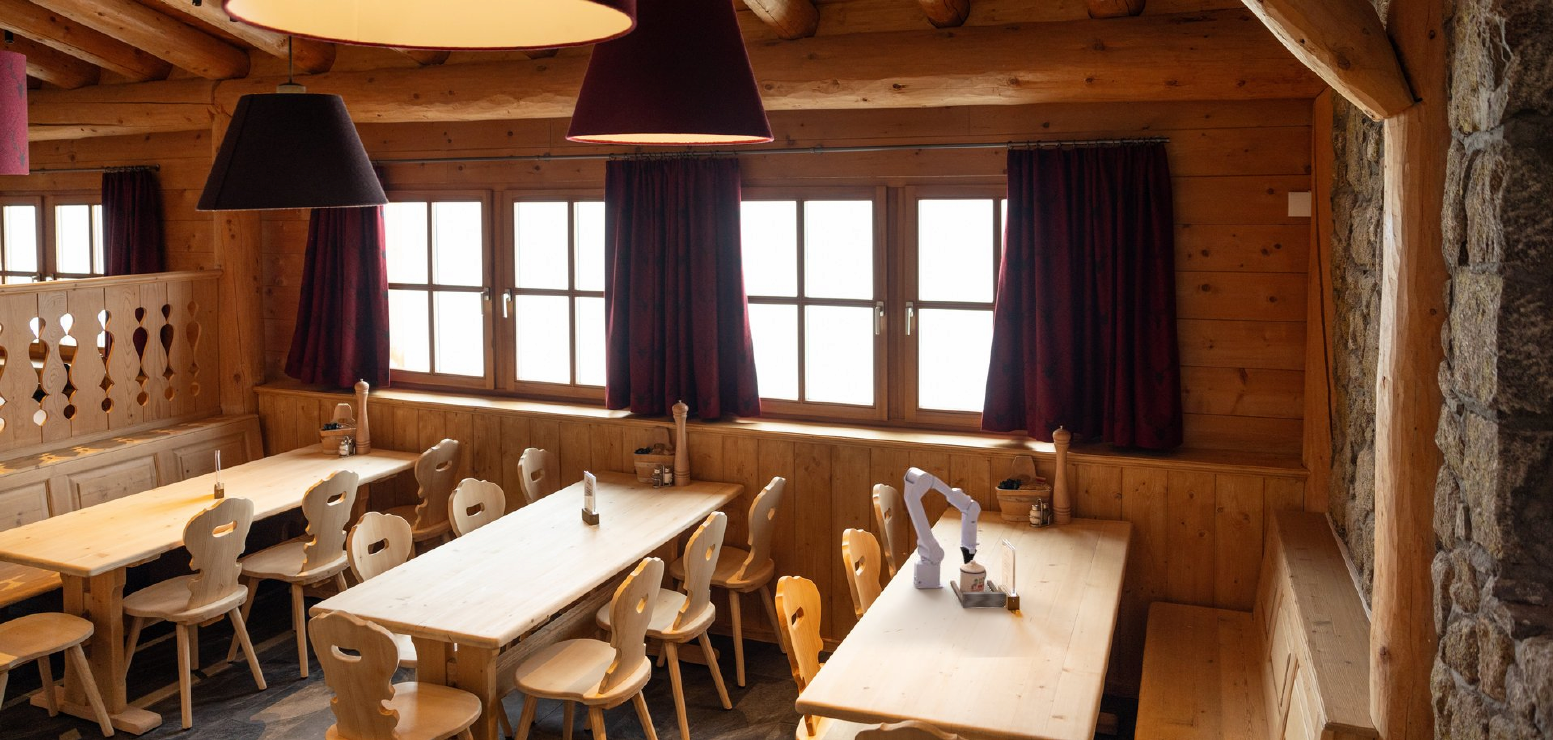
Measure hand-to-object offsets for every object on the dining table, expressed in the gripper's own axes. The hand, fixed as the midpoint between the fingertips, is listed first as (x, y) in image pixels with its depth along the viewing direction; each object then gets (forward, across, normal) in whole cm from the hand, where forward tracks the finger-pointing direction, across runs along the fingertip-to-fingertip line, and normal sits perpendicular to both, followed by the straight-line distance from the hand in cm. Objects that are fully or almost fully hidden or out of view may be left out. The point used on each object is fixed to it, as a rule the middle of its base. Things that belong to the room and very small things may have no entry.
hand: (967, 566), depth 440 cm
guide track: (+5, -17, 0) cm, 17 cm away
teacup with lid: (+5, -13, 0) cm, 14 cm away
